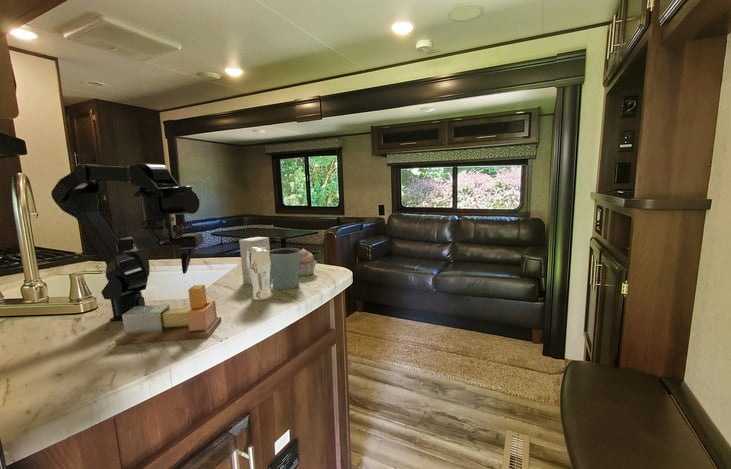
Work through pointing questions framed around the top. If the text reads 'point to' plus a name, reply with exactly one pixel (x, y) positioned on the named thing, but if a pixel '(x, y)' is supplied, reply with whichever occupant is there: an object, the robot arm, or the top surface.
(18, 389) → the top surface
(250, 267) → the beer glass
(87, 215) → the robot arm
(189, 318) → the terracotta socket
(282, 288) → the teal mug
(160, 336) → the walnut board
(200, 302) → the wooden blocks
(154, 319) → the steel sleeve
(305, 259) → the cupcake
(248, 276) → the skincare box
